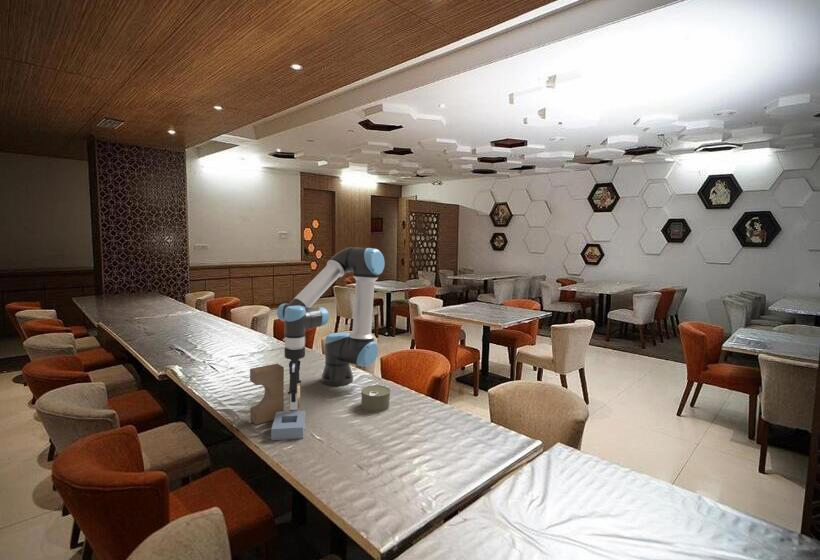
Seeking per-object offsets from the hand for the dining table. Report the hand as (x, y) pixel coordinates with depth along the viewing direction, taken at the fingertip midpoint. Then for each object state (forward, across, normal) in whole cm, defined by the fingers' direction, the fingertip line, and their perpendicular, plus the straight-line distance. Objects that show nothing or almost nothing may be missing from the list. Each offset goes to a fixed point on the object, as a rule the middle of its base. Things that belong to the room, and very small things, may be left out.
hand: (294, 404), depth 159 cm
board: (+5, +11, -1) cm, 12 cm away
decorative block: (+5, +1, -10) cm, 11 cm away
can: (+5, -6, +32) cm, 33 cm away
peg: (+5, 0, 0) cm, 5 cm away
